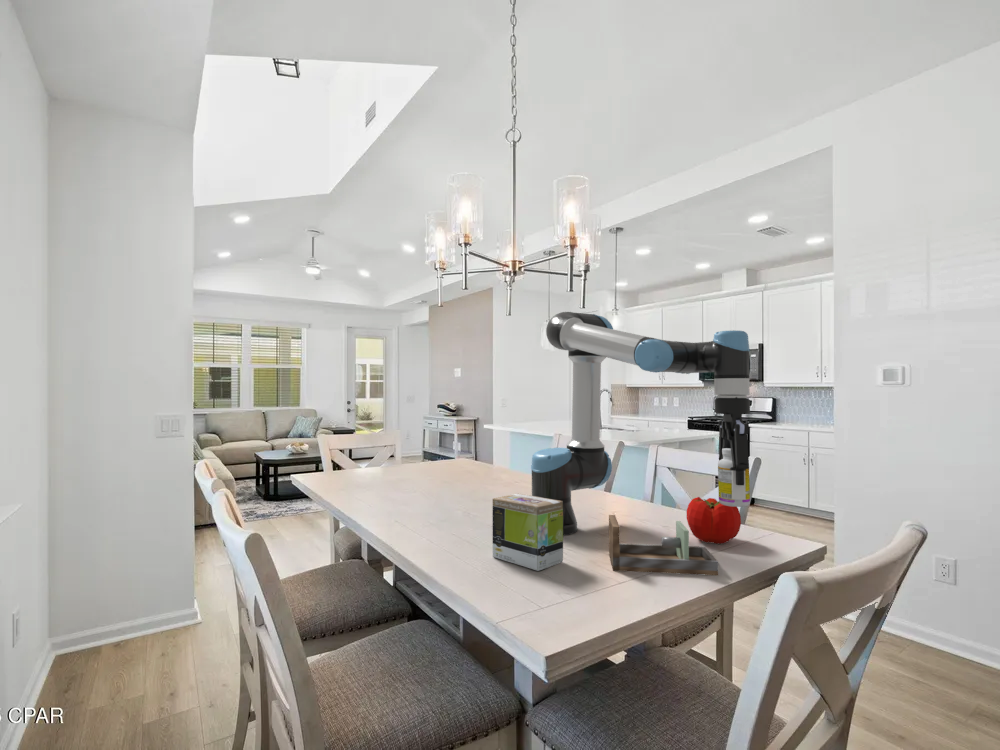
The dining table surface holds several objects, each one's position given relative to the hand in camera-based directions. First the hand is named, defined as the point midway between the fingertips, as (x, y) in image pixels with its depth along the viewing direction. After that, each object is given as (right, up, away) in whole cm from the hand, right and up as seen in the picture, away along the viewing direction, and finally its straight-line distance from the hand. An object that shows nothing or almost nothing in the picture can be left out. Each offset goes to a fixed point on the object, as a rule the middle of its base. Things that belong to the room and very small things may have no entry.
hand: (733, 495), depth 121 cm
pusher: (-14, -15, +1) cm, 21 cm away
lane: (-17, -17, +2) cm, 24 cm away
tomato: (+4, -17, +21) cm, 27 cm away
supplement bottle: (0, -2, 0) cm, 2 cm away
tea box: (-48, -17, +5) cm, 51 cm away
